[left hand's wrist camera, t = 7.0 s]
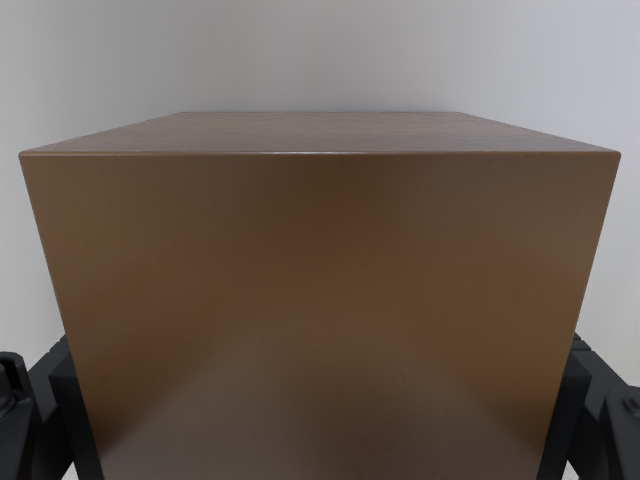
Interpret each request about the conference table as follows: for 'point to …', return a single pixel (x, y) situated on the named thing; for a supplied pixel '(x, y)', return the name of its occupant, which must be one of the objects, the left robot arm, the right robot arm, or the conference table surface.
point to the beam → (319, 290)
